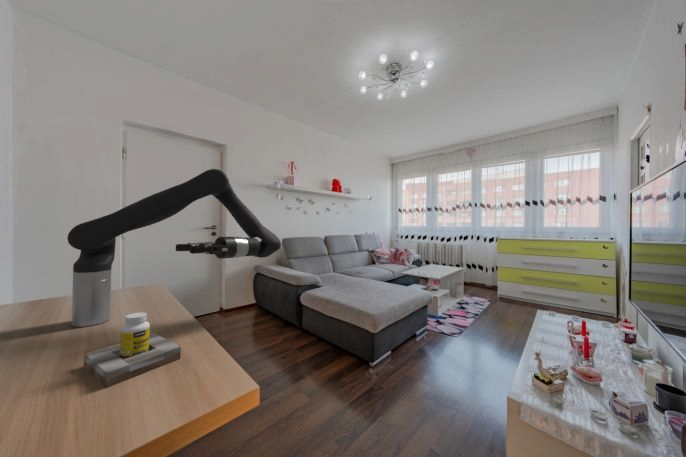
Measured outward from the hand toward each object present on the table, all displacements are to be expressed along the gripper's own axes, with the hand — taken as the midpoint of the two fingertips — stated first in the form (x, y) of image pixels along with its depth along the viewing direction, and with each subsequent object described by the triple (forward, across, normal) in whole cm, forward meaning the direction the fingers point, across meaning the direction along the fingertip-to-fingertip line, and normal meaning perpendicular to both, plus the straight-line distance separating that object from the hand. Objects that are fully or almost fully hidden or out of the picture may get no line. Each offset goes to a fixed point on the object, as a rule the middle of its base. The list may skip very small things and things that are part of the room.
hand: (183, 248), depth 77 cm
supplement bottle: (+13, +8, +25) cm, 29 cm away
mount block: (+13, +8, +26) cm, 30 cm away
